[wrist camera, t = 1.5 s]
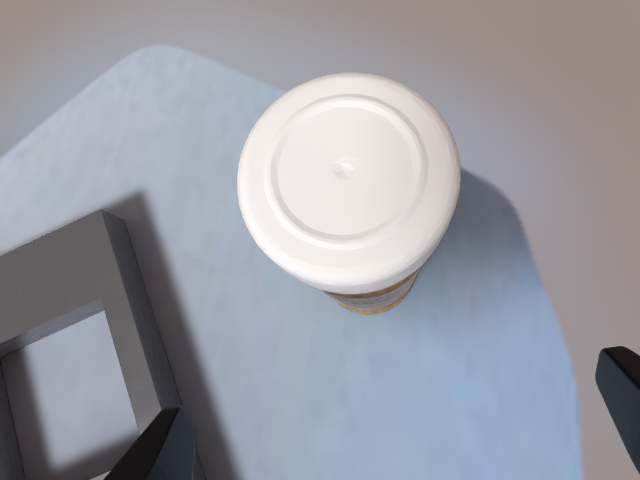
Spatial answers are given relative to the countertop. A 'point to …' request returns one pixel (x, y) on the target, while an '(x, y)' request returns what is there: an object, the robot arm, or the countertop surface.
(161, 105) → the countertop surface
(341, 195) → the sprinkles bottle
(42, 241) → the gray rectangular frame
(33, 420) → the countertop surface
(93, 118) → the countertop surface
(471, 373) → the countertop surface
